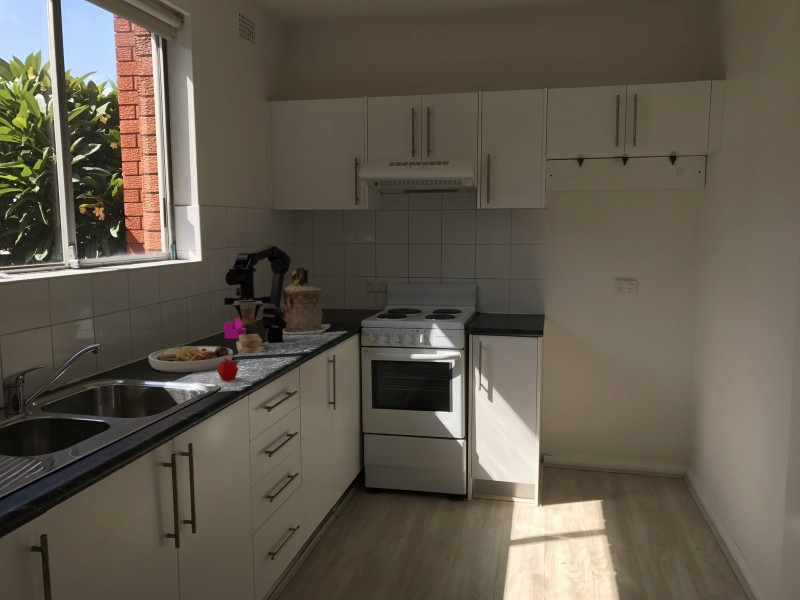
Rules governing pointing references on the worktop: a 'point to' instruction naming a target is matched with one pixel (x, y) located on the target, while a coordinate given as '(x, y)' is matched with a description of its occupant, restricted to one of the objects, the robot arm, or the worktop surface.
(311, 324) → the cookie jar
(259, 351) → the beech slab
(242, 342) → the oak slab
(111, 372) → the worktop surface
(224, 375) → the apple
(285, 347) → the worktop surface
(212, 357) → the bowl
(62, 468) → the worktop surface
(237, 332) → the toy block
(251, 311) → the walnut block
